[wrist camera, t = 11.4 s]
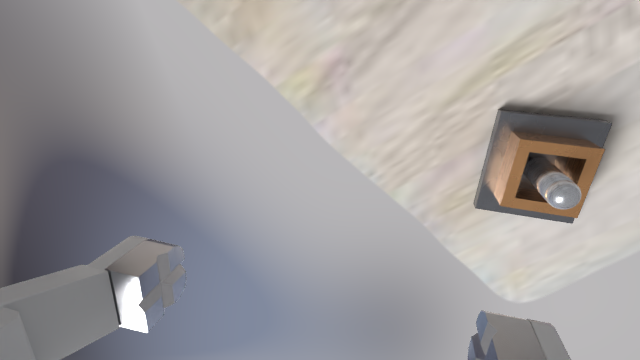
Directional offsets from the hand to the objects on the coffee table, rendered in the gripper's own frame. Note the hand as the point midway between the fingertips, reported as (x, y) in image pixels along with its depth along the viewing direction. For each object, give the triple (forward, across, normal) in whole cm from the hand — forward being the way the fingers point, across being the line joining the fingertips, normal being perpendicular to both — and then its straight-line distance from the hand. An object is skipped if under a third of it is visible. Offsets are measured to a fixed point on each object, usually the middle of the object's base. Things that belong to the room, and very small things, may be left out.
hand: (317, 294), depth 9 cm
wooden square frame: (+28, -15, +4) cm, 32 cm away
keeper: (+29, -15, +4) cm, 33 cm away
